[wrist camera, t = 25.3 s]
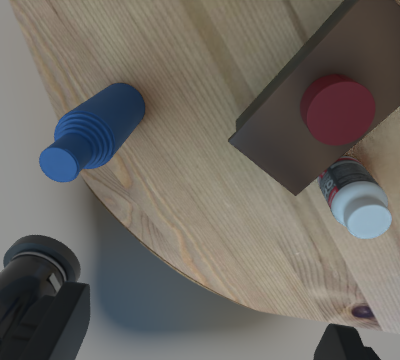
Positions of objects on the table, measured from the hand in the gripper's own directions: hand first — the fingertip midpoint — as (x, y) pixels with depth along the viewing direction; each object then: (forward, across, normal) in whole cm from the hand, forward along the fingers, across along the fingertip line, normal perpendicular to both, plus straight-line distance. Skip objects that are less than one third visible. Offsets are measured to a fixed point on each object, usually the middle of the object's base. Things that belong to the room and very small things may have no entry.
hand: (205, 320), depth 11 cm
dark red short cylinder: (+22, -10, -3) cm, 24 cm away
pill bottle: (+29, -16, +6) cm, 34 cm away
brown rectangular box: (+29, -10, -3) cm, 30 cm away
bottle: (+29, +11, +2) cm, 31 cm away
